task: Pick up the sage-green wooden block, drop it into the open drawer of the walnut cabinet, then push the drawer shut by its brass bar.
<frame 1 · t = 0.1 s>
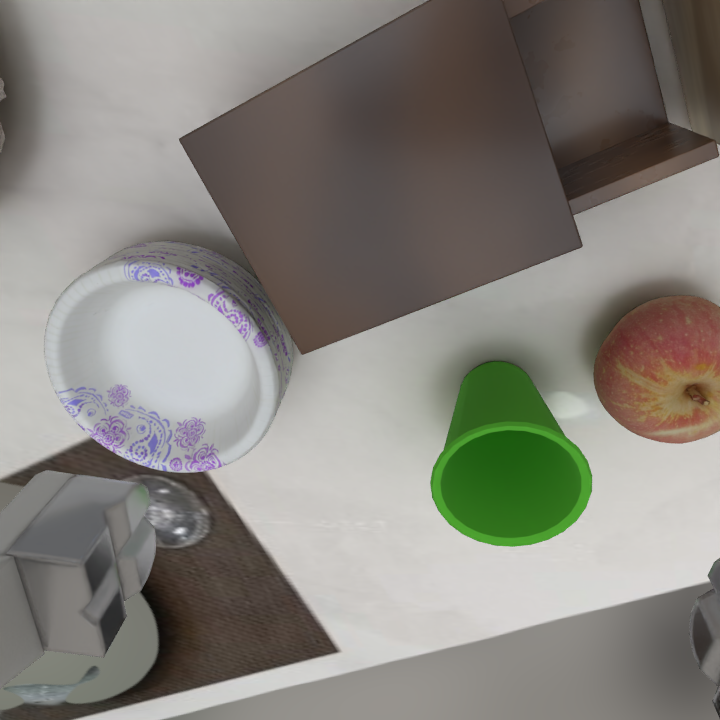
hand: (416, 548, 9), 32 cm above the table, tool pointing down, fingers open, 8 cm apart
cup: (495, 388, 44), on the table
cabinet: (395, 157, 37), on the table
apple: (651, 337, 41), on the table
paper bowls: (202, 325, 44), on the table
drawer: (610, 69, 29), point 5 cm above the table, slide at 8.0 cm
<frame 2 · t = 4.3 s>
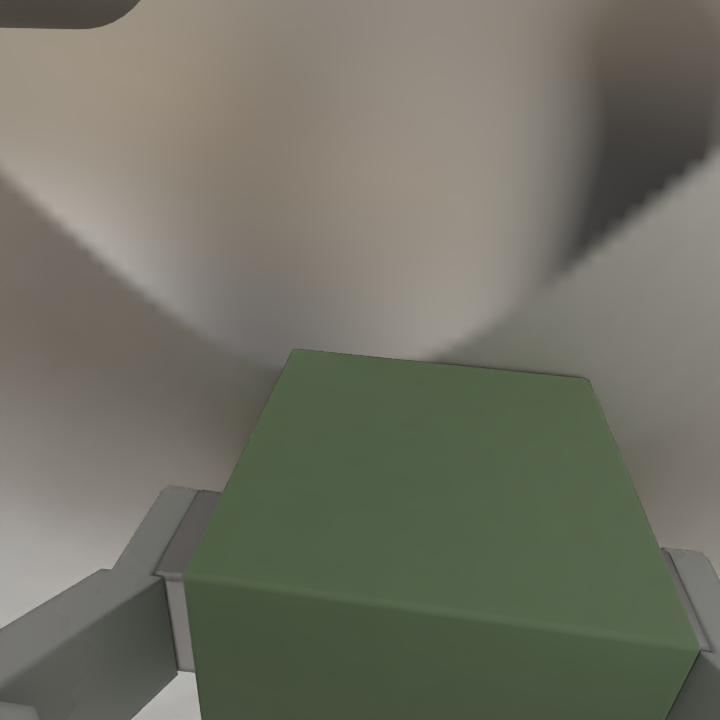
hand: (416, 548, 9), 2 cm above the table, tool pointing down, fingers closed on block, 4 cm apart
block: (423, 477, 10), on the table, touching gripper
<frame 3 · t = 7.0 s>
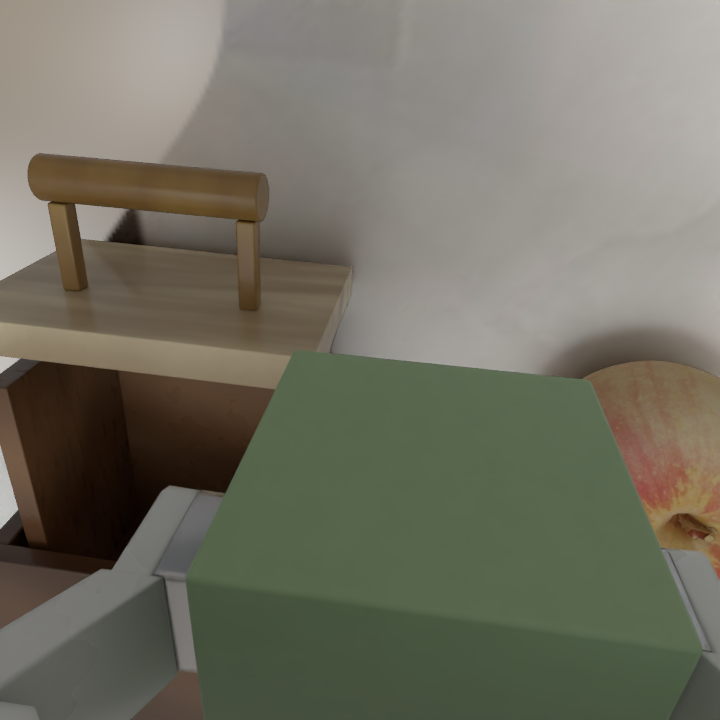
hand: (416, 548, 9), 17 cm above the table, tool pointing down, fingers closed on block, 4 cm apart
cabinet: (236, 543, 33), on the table
block: (424, 478, 10), point 15 cm above the table, touching gripper
apple: (624, 416, 26), on the table
drawer: (185, 410, 23), point 5 cm above the table, slide at 8.0 cm
when the fingers open (9 cm above the table, at t = 10.0 s): block drops 5 cm, resting on drawer.
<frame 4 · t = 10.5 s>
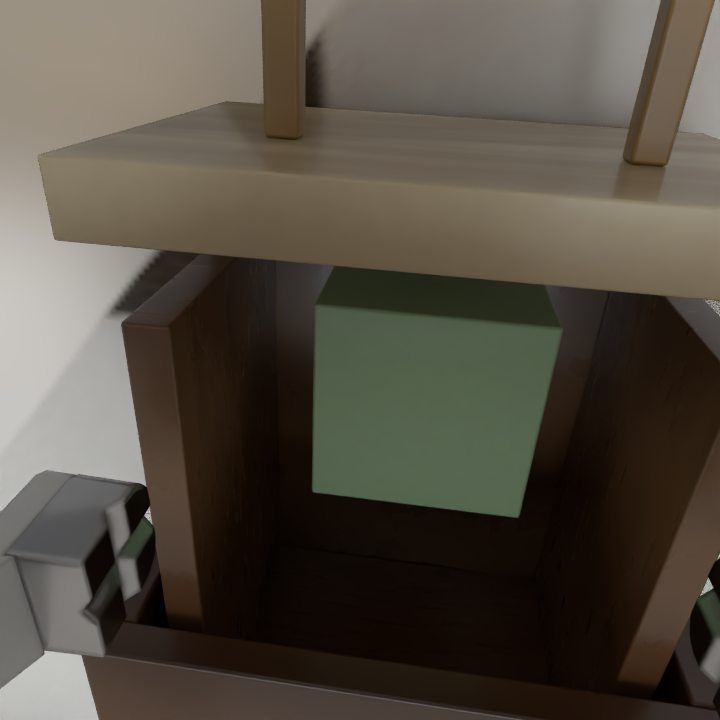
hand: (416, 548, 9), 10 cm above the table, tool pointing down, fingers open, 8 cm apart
cabinet: (400, 582, 23), on the table
block: (429, 324, 16), point 2 cm above the table, touching drawer
drawer: (429, 381, 13), point 5 cm above the table, slide at 8.0 cm, touching block
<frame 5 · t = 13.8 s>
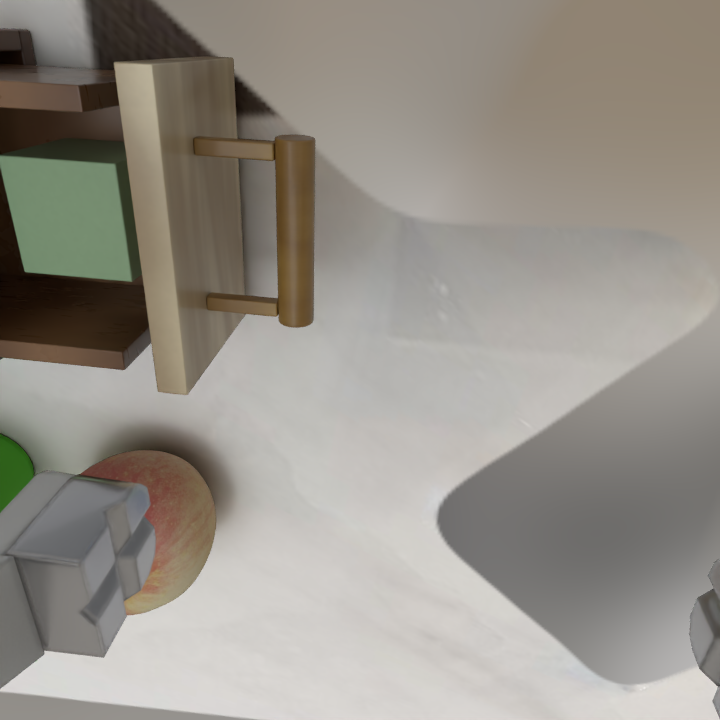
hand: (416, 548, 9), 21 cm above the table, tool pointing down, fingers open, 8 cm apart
block: (123, 194, 26), point 2 cm above the table, touching drawer
apple: (165, 479, 37), on the table
drawer: (88, 211, 24), point 5 cm above the table, slide at 8.0 cm, touching block
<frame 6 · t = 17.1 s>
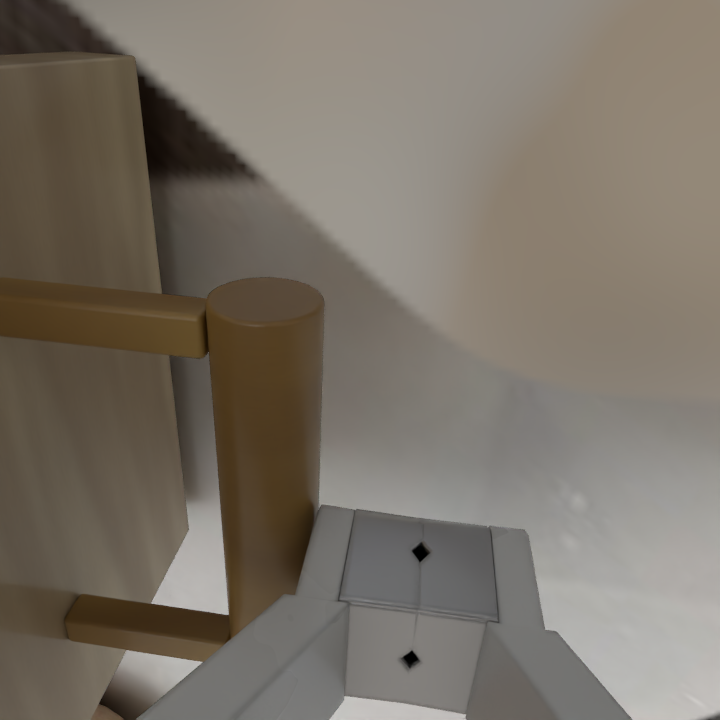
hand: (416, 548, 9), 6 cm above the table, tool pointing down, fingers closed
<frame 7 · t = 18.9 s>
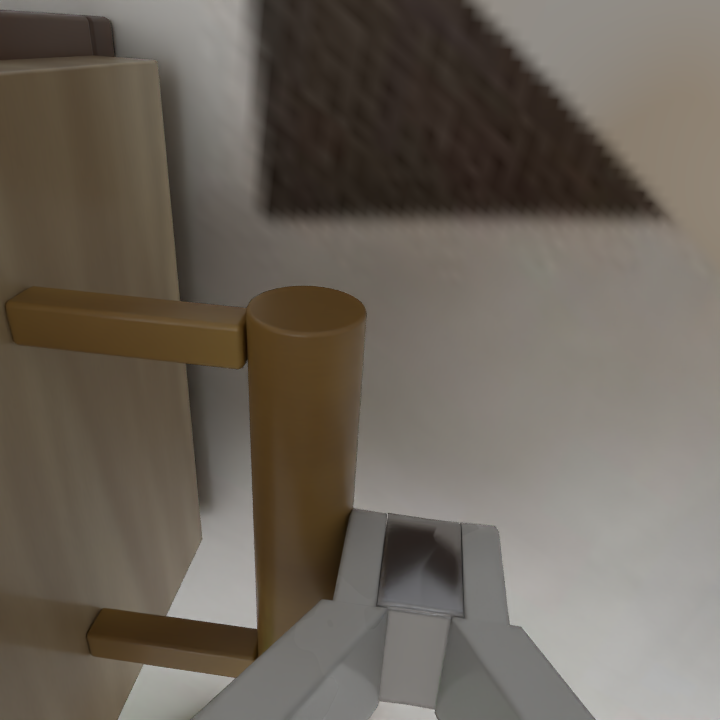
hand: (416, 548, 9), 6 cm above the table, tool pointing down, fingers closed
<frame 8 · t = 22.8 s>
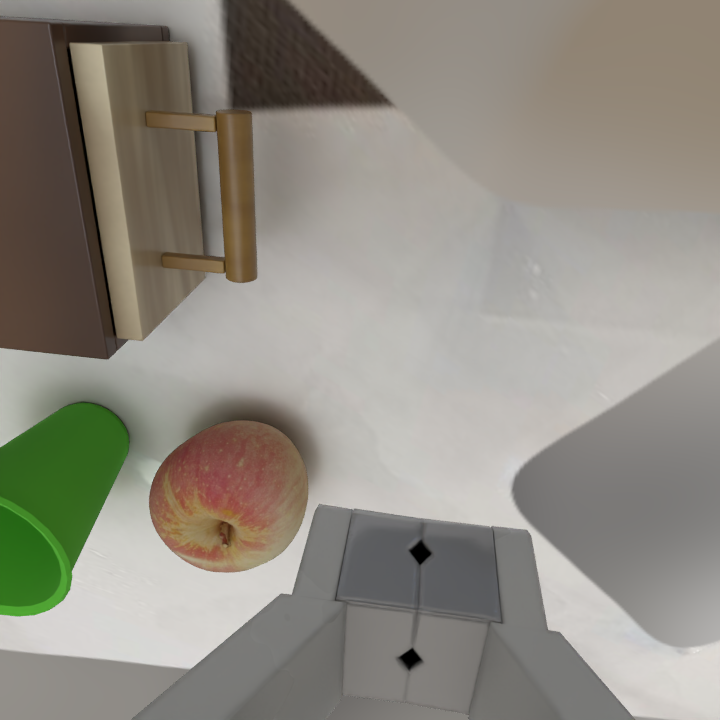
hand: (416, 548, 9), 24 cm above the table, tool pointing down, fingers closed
cup: (95, 431, 40), on the table
cabinet: (38, 154, 32), on the table
block: (88, 165, 29), point 2 cm above the table, touching drawer
apple: (254, 450, 39), on the table
drawer: (57, 179, 27), point 5 cm above the table, slide at 0.0 cm, touching block
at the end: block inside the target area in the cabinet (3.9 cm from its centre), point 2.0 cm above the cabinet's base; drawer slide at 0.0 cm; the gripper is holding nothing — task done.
